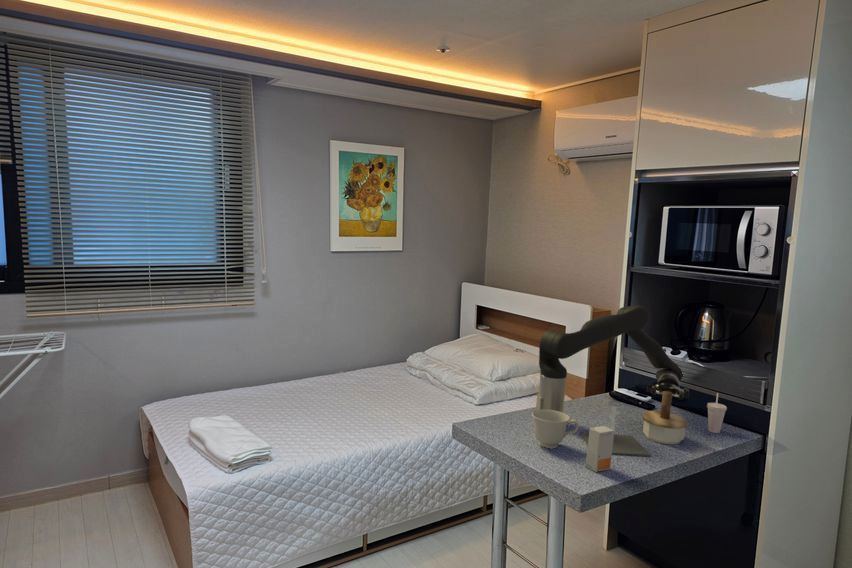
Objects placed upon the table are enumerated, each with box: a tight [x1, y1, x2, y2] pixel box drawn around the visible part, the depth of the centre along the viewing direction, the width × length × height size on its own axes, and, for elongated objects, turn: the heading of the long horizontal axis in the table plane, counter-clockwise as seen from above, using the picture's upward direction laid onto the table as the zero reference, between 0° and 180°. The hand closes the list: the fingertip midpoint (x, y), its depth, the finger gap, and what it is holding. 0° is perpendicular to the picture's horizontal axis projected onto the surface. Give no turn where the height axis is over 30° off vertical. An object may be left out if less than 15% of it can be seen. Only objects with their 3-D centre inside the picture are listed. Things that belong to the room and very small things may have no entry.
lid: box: [642, 391, 688, 429], centre depth 190 cm, size 14×14×10 cm
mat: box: [579, 432, 652, 457], centre depth 183 cm, size 18×16×1 cm
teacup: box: [531, 409, 580, 449], centre depth 178 cm, size 12×15×10 cm
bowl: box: [642, 419, 686, 446], centre depth 191 cm, size 12×12×6 cm
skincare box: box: [585, 425, 615, 473], centre depth 163 cm, size 6×4×12 cm
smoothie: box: [706, 392, 728, 434], centre depth 201 cm, size 6×6×14 cm
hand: (667, 394), depth 199 cm, fingers open, 8 cm apart
